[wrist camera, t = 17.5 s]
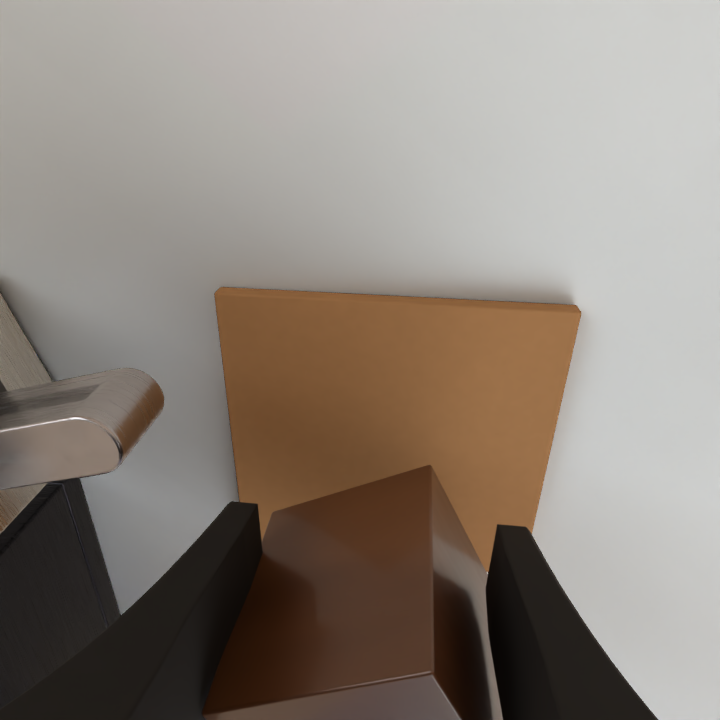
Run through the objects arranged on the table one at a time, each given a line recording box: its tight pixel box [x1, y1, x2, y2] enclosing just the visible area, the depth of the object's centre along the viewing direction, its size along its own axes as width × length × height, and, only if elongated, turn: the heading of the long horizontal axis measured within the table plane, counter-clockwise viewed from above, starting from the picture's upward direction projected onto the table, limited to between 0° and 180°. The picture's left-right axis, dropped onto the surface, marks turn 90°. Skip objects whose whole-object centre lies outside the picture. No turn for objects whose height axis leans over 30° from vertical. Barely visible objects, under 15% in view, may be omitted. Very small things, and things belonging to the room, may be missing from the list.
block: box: [202, 465, 503, 720], centre depth 12 cm, size 4×4×5 cm
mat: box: [214, 287, 581, 572], centre depth 15 cm, size 9×9×1 cm
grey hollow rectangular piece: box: [0, 293, 164, 534], centre depth 12 cm, size 7×6×8 cm
